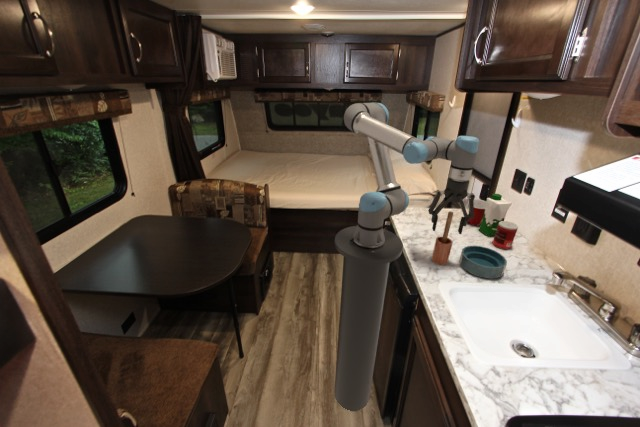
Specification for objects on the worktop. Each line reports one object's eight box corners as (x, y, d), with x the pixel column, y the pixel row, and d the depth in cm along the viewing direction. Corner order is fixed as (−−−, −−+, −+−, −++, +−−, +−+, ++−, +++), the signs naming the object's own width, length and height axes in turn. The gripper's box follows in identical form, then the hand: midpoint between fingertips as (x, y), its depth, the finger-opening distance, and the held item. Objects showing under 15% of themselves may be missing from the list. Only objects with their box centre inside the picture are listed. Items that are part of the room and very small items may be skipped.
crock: (432, 263, 123) (437, 243, 119) (430, 255, 128) (435, 235, 124) (448, 265, 122) (454, 245, 117) (446, 257, 127) (451, 237, 123)
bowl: (463, 276, 115) (467, 264, 113) (455, 254, 130) (458, 243, 128) (508, 282, 112) (513, 270, 110) (495, 259, 127) (498, 248, 125)
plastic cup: (460, 223, 158) (465, 203, 153) (466, 217, 166) (471, 197, 161) (482, 229, 152) (488, 208, 147) (487, 222, 159) (493, 202, 154)
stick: (436, 260, 124) (447, 213, 114) (435, 256, 126) (446, 210, 117) (444, 261, 123) (455, 214, 114) (443, 257, 126) (454, 211, 116)
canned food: (511, 244, 139) (518, 223, 134) (510, 251, 133) (517, 230, 128) (493, 239, 143) (499, 219, 138) (491, 246, 137) (498, 225, 132)
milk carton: (490, 228, 154) (501, 192, 145) (503, 236, 146) (515, 199, 137) (475, 229, 152) (486, 193, 144) (488, 237, 144) (499, 200, 136)
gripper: (429, 179, 108) (419, 232, 118) (493, 184, 104) (477, 239, 114) (427, 173, 115) (417, 223, 124) (487, 178, 111) (473, 230, 120)
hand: (446, 231), depth 119 cm, fingers open, 9 cm apart
